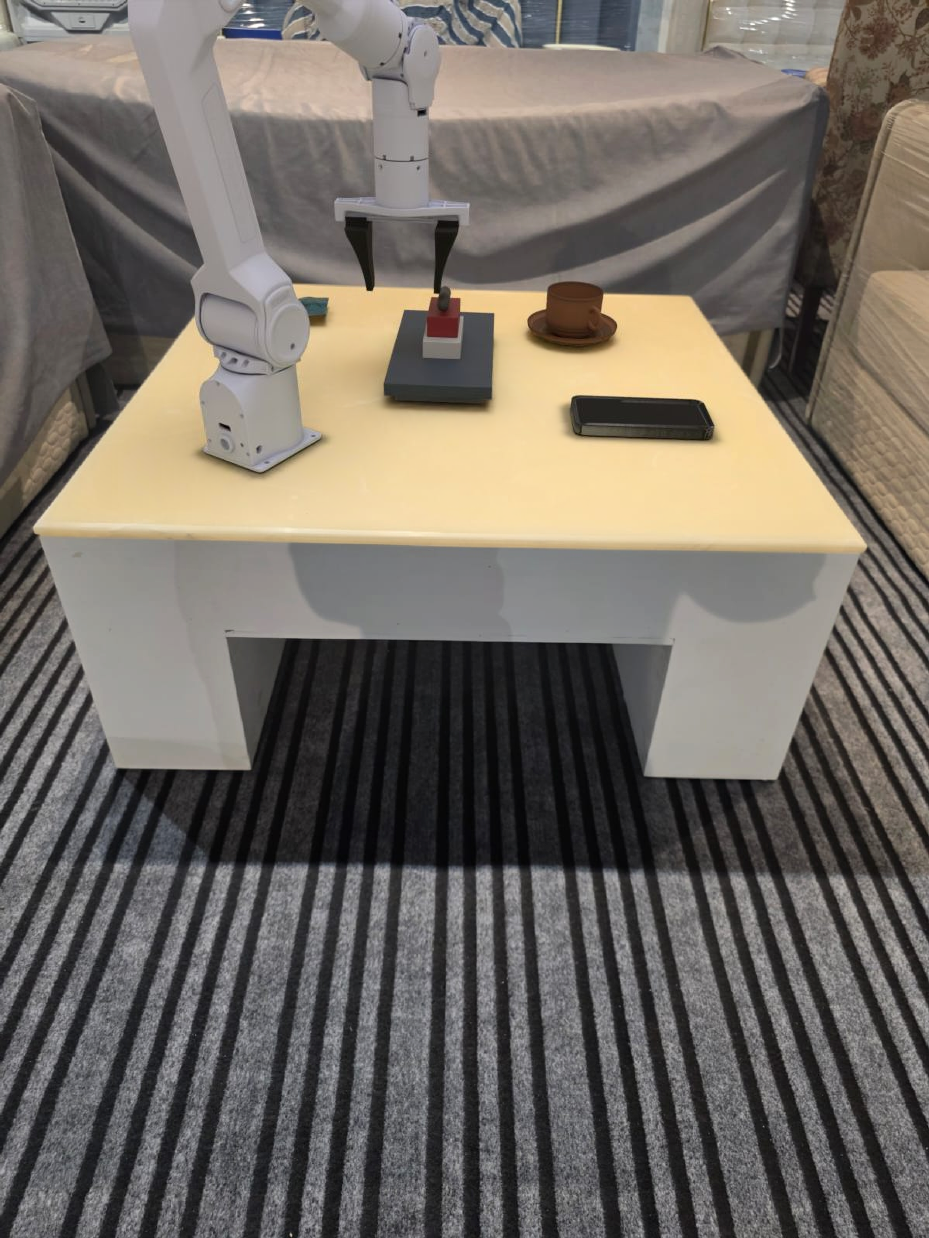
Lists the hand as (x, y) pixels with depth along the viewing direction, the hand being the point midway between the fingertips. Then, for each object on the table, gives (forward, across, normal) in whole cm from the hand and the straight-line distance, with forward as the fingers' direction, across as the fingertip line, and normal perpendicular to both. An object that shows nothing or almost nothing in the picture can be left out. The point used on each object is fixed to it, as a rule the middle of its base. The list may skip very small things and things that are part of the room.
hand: (403, 290), depth 96 cm
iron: (+7, -4, -2) cm, 8 cm away
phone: (+10, -27, +11) cm, 31 cm away
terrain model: (+10, +19, -17) cm, 27 cm away
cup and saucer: (+10, -21, -14) cm, 27 cm away
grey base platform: (+10, -5, -2) cm, 11 cm away
